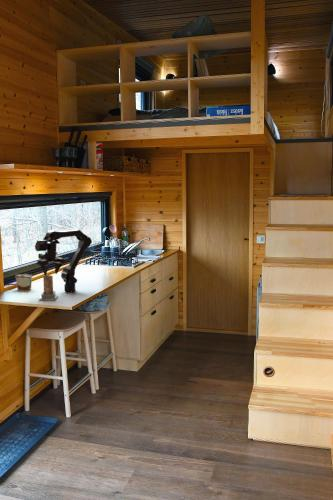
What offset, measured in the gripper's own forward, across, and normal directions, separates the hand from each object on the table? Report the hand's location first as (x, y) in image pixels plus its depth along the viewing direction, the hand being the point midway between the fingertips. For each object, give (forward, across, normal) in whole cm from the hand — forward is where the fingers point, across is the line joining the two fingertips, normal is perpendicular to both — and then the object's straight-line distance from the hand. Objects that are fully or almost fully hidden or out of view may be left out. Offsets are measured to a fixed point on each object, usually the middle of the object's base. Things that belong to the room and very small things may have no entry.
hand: (50, 274), depth 315 cm
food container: (+15, -2, -24) cm, 28 cm away
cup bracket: (+13, +8, +8) cm, 17 cm away
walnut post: (+12, +8, +8) cm, 16 cm away
